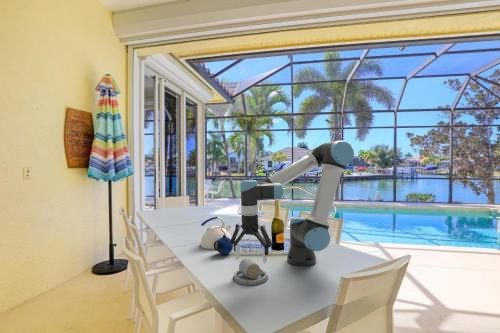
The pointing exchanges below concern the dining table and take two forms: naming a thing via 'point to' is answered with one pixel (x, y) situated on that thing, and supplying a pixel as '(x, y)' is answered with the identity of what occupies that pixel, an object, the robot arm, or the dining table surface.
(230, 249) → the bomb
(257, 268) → the ceramic mug
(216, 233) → the kettle
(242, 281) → the ring coaster
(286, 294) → the dining table surface
